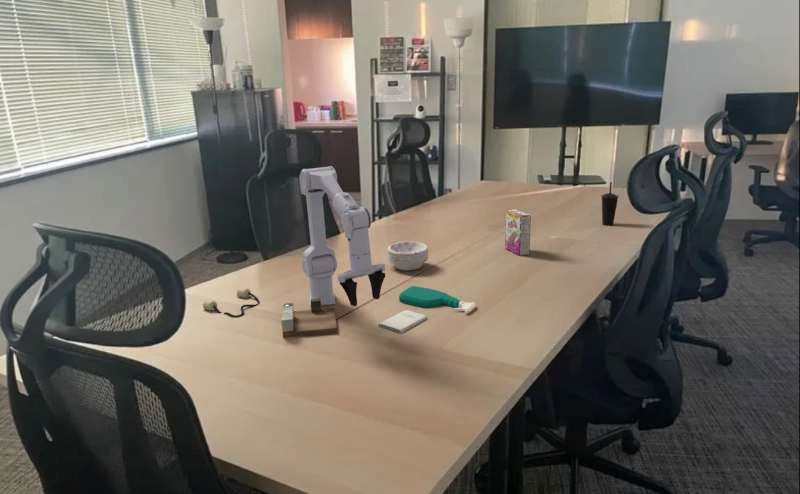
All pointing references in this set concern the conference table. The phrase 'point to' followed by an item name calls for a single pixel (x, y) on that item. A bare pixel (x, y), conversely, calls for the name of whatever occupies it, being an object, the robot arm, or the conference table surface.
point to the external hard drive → (403, 321)
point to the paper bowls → (407, 255)
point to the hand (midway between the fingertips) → (365, 302)
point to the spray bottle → (433, 299)
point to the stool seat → (313, 321)
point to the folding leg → (288, 317)
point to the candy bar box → (518, 232)
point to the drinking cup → (609, 207)
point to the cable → (240, 293)
